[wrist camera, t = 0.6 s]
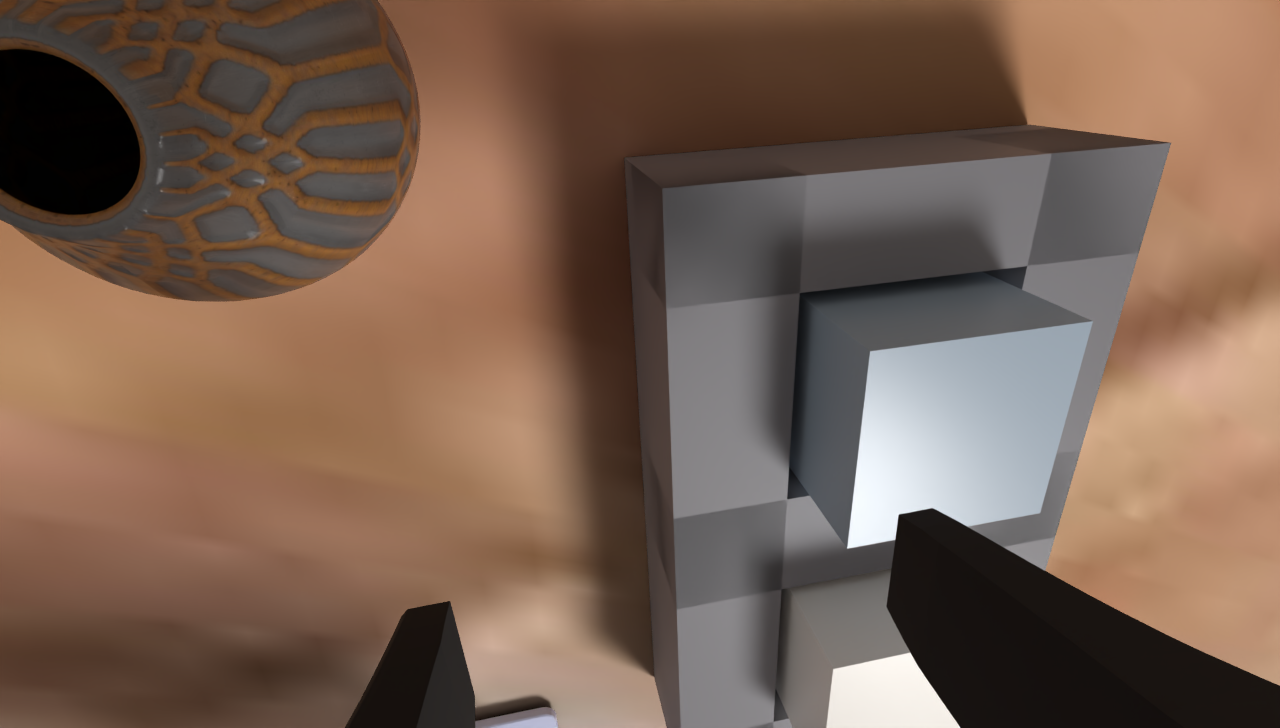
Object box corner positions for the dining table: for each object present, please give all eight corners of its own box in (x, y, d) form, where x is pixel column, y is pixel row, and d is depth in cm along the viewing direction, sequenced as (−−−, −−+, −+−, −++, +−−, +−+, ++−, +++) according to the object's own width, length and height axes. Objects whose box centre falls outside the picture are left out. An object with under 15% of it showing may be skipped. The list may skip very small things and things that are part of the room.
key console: (929, 621, 28) (1001, 716, 24) (654, 678, 26) (683, 792, 22) (1029, 124, 19) (1170, 143, 15) (624, 157, 17) (662, 188, 13)
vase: (444, -38, 15) (382, -145, 7) (425, 259, 17) (365, 425, 9) (81, -126, 13) (-568, -406, 5) (123, 220, 15) (-257, 385, 8)
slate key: (940, 428, 19) (1040, 513, 16) (780, 454, 18) (847, 548, 15) (969, 266, 17) (1092, 321, 13) (789, 287, 16) (870, 351, 13)
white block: (901, 644, 23) (974, 750, 20) (768, 672, 22) (819, 788, 19) (921, 534, 21) (1007, 631, 17) (774, 561, 20) (833, 669, 17)
